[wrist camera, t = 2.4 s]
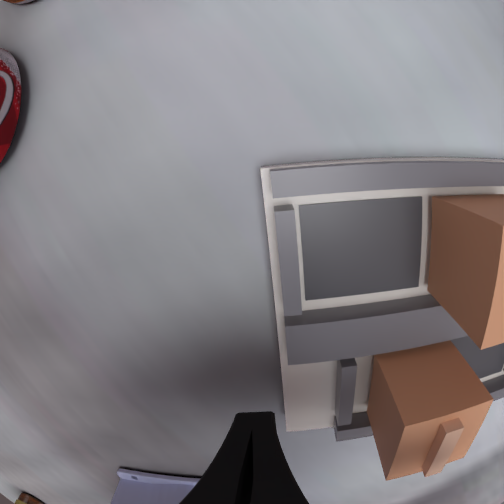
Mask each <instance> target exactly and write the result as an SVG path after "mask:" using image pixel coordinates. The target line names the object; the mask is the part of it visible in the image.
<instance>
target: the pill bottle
mask: <svg viewBox="0 0 504 504" xmlns="http://www.w3.org/2000/svg"><path fill="white" fill-rule="evenodd" d="M3 1H6V2H10V3H13V4H24V3H28V2H31V1H33V0H3Z"/></svg>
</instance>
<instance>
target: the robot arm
mask: <svg viewBox="0 0 504 504" xmlns="http://www.w3.org/2000/svg"><path fill="white" fill-rule="evenodd" d="M117 474H118V476H119V477H120V478H121V479H120V481H119V483H118V486H117V488H116V491H115V493H114V496H113V499H112V501H111V504H309V503H308V501H307V500H306V498H305V496H304V495H303V493H302V491H301V490H300V488H299V486H298V484H297V482H296V480H295V478H294V476H293V474H292V472H291V470H290V468H289V466H288V463H287V461H286V459H285V456H284V453H283V451H282V448H281V445H280V442H279V439H278V435H277V431H276V422H275V414H274V413H273V412H271V411H270V412H248V413H237V414H236V415H235V418H234V421H233V423H232V426H231V428H230V430H229V432H228V434H227V436H226V438H225V440H224V442H223V444H222V446H221V448H220V449H219V451H218V453H217V455H216V456H215V458H214V460H213V461H212V463H211V464H210V466H209V467H208V469H207V470H206V472H205V473H204V475H203V476H202V477H201V479H199V478H186V477H176V476H167V475H159V474H151V473H144V472H138V471H132V470H127V469H118V471H117Z"/></svg>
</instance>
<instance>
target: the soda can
mask: <svg viewBox="0 0 504 504" xmlns="http://www.w3.org/2000/svg"><path fill="white" fill-rule="evenodd" d="M20 103H21V78H20V72H19V68H18V65H17V62H16V60H15V59H14V57H13V56H12V55H11V54H10V53H9V52H8V51H6V50H5V49H2V48H0V163H1V161H2V160H3V158H4V156H5V155H6V152H7V150H8V148H9V146H10V144H11V141H12V138H13V136H14V132H15V129H16V125H17V121H18V116H19V112H20Z"/></svg>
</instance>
